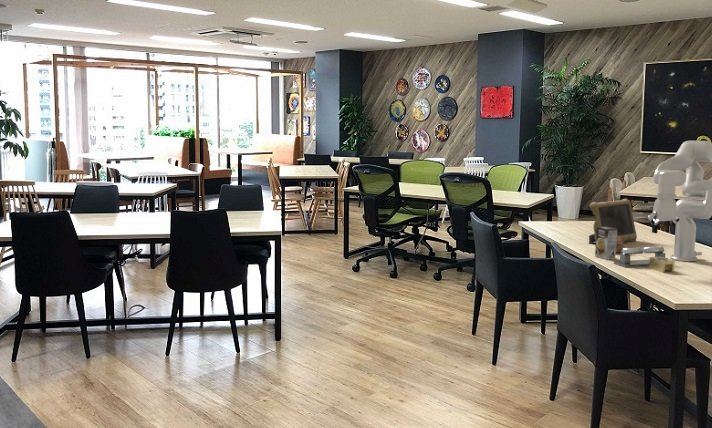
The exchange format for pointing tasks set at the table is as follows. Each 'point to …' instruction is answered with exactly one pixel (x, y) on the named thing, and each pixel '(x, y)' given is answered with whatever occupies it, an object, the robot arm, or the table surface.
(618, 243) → the decorative rock
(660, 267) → the coupler
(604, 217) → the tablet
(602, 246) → the coffee box
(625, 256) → the shaft rig
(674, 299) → the table surface
